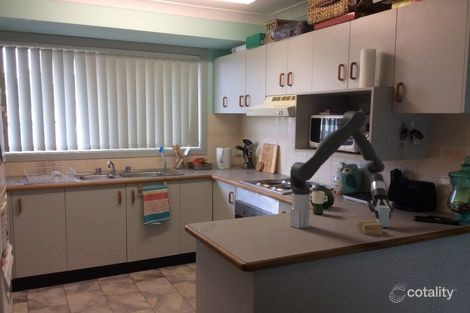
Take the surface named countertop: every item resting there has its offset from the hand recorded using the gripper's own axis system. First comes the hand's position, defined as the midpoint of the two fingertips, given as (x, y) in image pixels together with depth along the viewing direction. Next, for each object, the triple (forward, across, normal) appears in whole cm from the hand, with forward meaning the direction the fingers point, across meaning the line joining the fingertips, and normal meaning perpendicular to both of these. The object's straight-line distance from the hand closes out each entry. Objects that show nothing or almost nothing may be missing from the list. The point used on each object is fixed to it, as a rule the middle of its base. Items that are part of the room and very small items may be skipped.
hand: (383, 218), depth 211 cm
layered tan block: (+10, -9, -2) cm, 14 cm away
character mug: (-16, -30, +24) cm, 42 cm away
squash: (-29, -26, +36) cm, 53 cm away
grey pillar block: (+2, 0, +4) cm, 5 cm away
